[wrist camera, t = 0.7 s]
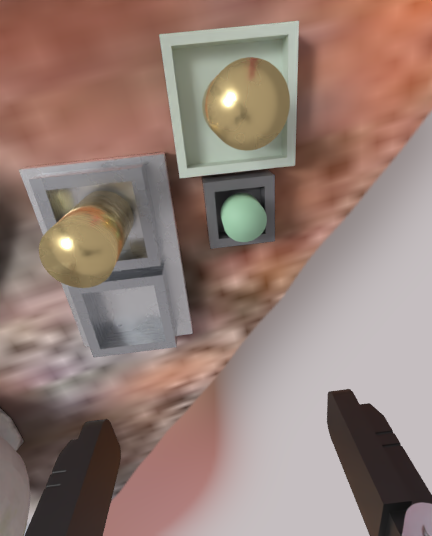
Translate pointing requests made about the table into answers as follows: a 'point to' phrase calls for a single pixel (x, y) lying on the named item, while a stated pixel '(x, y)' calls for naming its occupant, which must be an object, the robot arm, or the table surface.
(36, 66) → the table surface
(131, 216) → the billet
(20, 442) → the ceramic pitcher
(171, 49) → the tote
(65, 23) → the table surface
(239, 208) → the button
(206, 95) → the billet
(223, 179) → the console
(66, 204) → the tray
